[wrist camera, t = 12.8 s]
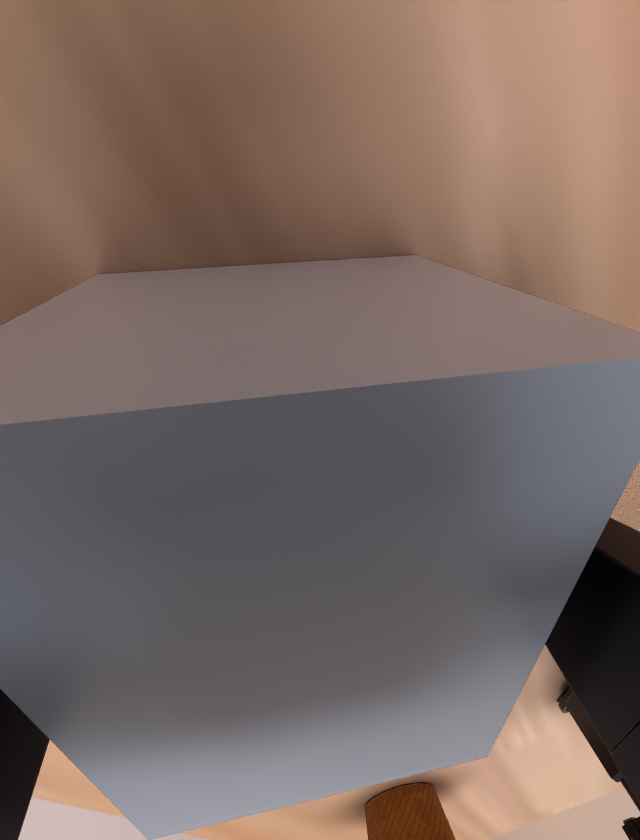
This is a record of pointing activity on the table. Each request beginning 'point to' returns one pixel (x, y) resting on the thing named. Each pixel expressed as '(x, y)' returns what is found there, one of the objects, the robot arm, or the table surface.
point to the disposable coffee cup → (407, 815)
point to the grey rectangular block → (294, 521)
